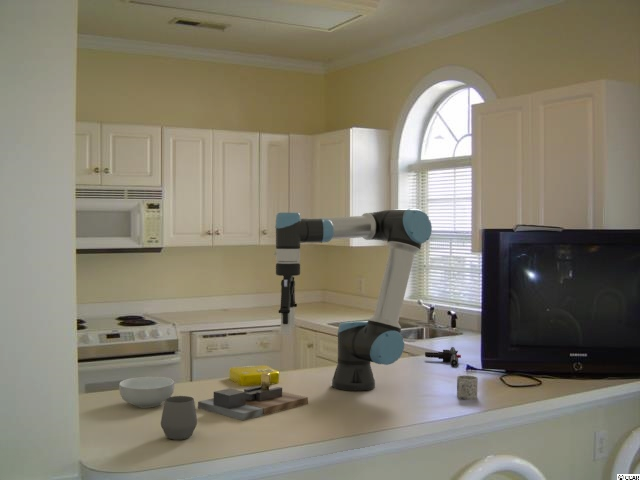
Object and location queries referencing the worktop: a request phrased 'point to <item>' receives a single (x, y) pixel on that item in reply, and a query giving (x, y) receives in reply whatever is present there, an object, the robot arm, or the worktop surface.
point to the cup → (179, 417)
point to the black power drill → (445, 356)
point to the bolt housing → (243, 396)
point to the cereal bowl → (146, 390)
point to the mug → (467, 387)
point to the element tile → (252, 375)
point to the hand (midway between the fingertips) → (288, 331)
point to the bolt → (264, 386)
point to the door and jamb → (256, 406)
